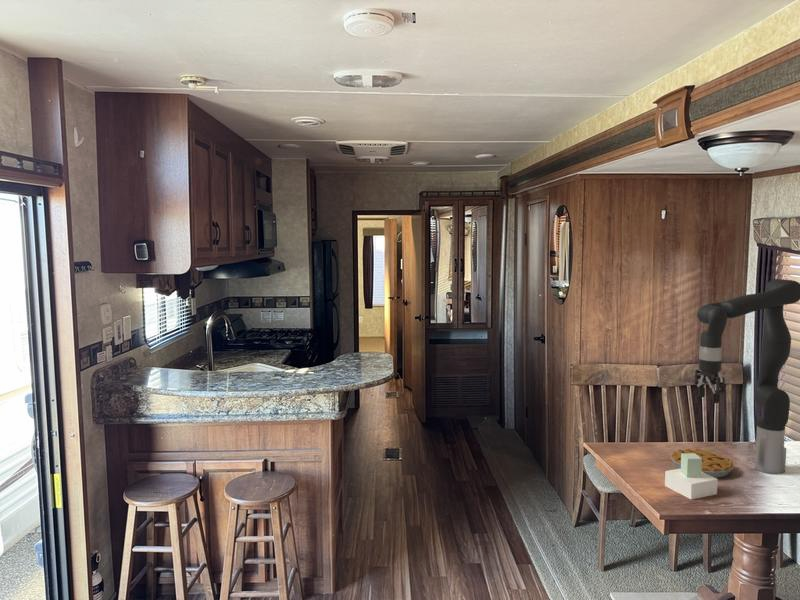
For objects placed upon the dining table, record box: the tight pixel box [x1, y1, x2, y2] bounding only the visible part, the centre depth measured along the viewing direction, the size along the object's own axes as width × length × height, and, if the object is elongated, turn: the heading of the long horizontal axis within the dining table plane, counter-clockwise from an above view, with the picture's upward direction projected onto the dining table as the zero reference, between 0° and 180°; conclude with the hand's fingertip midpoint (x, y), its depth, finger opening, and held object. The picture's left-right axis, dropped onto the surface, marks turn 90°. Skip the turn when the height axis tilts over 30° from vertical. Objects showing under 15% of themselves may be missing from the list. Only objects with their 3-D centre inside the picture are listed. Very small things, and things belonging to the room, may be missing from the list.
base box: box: [664, 468, 719, 500], centre depth 206 cm, size 12×12×6 cm
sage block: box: [681, 453, 702, 477], centre depth 206 cm, size 5×5×7 cm
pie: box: [670, 448, 735, 479], centre depth 225 cm, size 22×22×5 cm
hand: (708, 399), depth 215 cm, fingers open, 8 cm apart
